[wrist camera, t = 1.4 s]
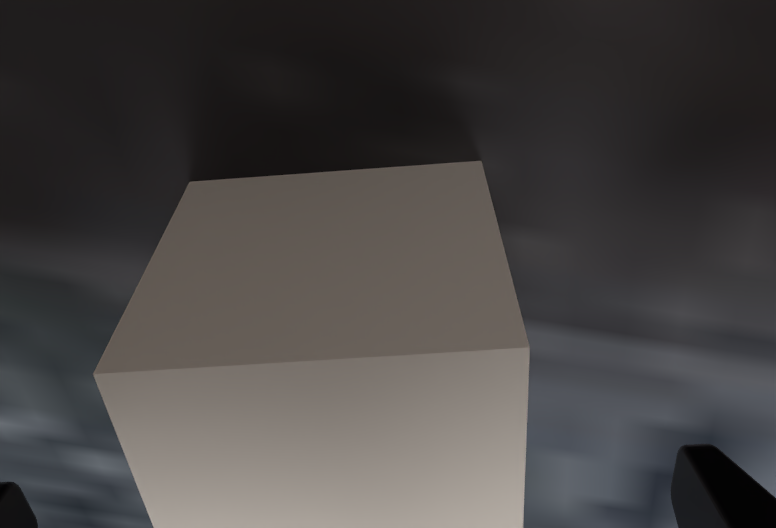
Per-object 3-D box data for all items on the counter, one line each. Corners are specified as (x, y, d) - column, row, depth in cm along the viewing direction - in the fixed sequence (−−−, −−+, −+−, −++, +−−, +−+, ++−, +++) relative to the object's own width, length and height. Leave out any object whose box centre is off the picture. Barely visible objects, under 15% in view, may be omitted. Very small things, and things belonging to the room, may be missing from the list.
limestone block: (480, 158, 12) (529, 347, 8) (482, 378, 15) (520, 605, 11) (191, 179, 13) (93, 374, 8) (244, 392, 15) (190, 621, 11)
